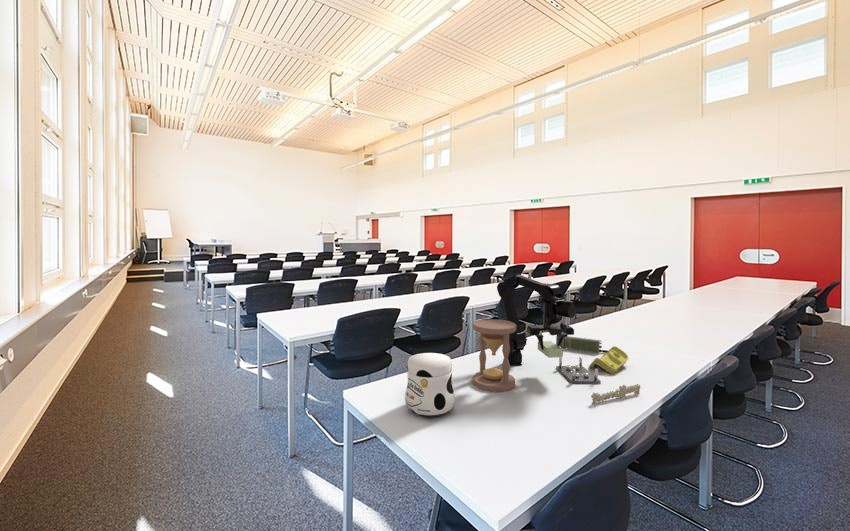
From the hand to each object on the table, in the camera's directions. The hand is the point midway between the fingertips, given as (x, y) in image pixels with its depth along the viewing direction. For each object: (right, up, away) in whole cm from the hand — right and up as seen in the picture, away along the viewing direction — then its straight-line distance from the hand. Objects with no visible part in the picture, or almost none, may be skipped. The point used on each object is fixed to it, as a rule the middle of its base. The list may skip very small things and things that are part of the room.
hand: (549, 349), depth 164 cm
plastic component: (+32, -11, +12) cm, 36 cm away
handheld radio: (+30, -9, +36) cm, 48 cm away
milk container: (-52, -15, -30) cm, 62 cm away
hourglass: (-26, -13, -7) cm, 29 cm away
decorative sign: (+18, -14, -22) cm, 32 cm away
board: (0, -2, 0) cm, 2 cm away
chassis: (+12, -11, +1) cm, 17 cm away
